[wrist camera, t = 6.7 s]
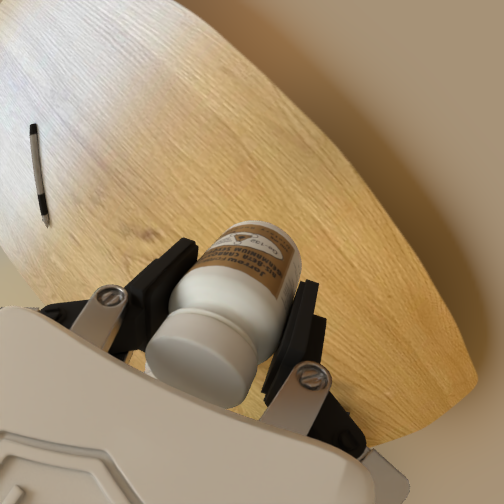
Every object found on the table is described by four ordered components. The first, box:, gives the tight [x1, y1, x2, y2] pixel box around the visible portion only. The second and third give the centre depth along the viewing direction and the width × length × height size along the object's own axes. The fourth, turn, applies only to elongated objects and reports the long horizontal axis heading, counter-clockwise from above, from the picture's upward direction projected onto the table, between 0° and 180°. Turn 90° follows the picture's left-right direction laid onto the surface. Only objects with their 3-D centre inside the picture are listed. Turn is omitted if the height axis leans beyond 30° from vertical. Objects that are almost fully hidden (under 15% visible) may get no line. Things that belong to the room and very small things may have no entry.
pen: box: [30, 124, 49, 228], centre depth 34 cm, size 1×16×1 cm, turn 177°
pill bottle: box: [145, 221, 302, 409], centre depth 12 cm, size 4×4×8 cm
